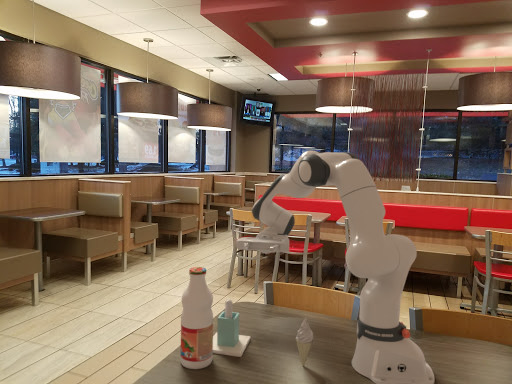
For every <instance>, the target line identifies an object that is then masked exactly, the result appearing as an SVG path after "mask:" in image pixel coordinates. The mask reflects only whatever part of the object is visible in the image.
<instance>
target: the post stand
mask: <svg viewBox="0 0 512 384" xmlns="http://www.w3.org/2000/svg"><path fill="white" fill-rule="evenodd" d="M224 311H225V318H231V319H232V312H233V301H232V300H231V299H226V300H225V302H224ZM250 341H251V336H249V335H243V334H239V340H238V342H237V343H236V345H235V347H227V346H220V345H217V331H216V332H215V334H213V354H218V355H223V356H225V355H226V356H230V357H231V356H232V357H240V358H241V357H242V356H243V354H244V352H245V350H246V348H247V346H248V345H249V343H250Z"/></svg>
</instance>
